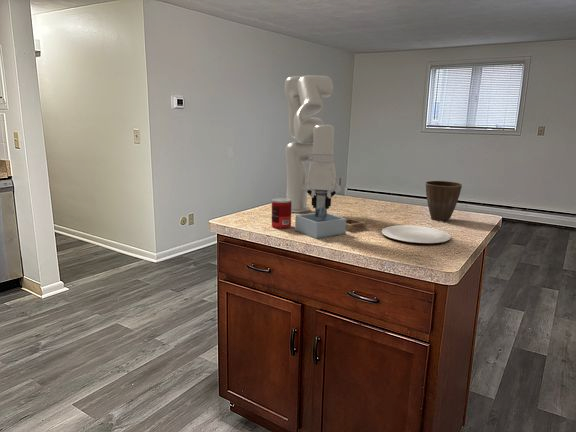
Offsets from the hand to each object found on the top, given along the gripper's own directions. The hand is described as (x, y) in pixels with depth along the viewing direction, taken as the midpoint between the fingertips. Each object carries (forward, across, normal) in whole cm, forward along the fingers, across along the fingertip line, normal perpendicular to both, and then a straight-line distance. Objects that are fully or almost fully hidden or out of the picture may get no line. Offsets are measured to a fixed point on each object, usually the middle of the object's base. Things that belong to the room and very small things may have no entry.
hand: (321, 207), depth 167 cm
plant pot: (+10, +48, +37) cm, 61 cm away
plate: (+10, +35, +4) cm, 37 cm away
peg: (+3, 0, 0) cm, 3 cm away
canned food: (+10, -16, +5) cm, 20 cm away
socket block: (+10, +10, +11) cm, 18 cm away
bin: (+10, 0, 0) cm, 10 cm away
